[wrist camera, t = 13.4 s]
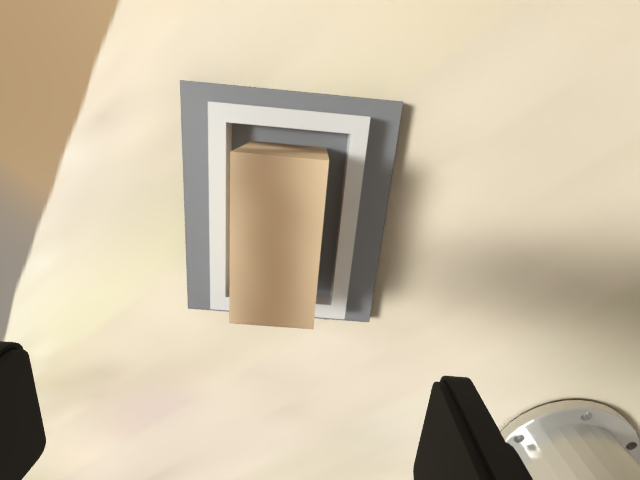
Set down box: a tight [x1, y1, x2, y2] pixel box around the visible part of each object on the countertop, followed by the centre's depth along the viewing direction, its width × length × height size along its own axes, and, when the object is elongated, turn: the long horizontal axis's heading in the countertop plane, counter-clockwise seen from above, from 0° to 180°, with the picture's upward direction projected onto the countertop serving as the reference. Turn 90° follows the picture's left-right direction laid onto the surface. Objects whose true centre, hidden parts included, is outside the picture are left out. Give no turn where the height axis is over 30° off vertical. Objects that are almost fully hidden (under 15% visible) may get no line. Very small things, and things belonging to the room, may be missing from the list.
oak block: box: [229, 141, 329, 329], centre depth 21 cm, size 4×9×6 cm, turn 175°
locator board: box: [180, 80, 403, 322], centre depth 24 cm, size 15×13×2 cm
